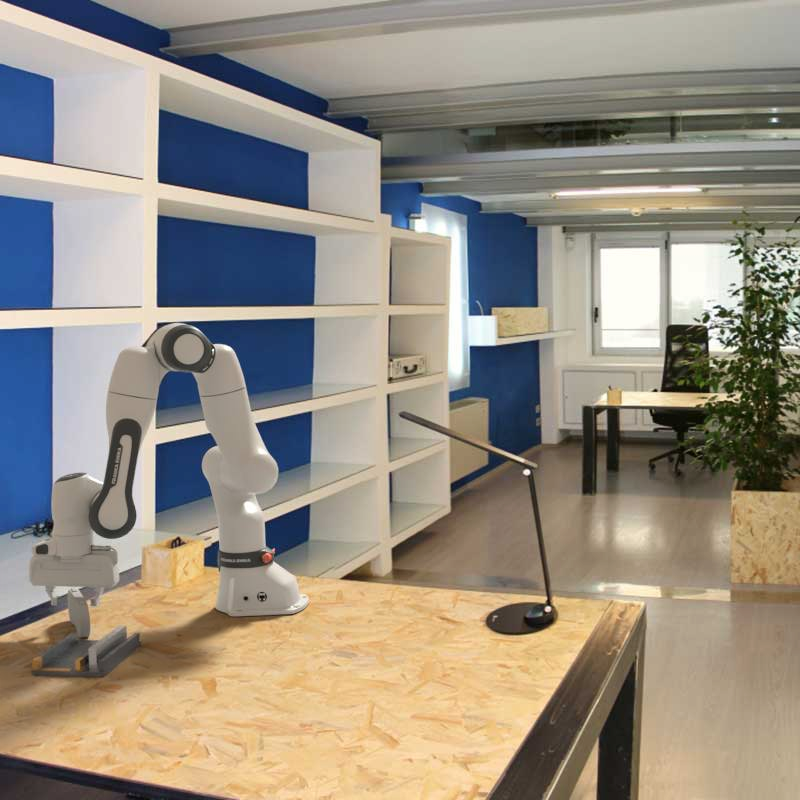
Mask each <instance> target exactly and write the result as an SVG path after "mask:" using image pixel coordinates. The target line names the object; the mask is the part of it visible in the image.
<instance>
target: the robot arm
mask: <svg viewBox="0 0 800 800" xmlns="http://www.w3.org/2000/svg"><path fill="white" fill-rule="evenodd" d="M239 361H240V360H239V359H238V356H237V353H236V352H235V350H234V349H233V348H232V347H231V346H228V345H227V344H222V343H214V344H213V343H212V342H211V341H210V339H209V338H207V336H206V335H205V334H204V333H203V332H202V331H201V330H200V329H199V328H197V327H195V326H194V325H190V324H186V323H181V322H174V323H165V324H163V325H160V326H159V327H157V328H156V329H155V330H153V332H152V333H151V334H150V335H149V336H148V338H147V339H146V340H145V341H144V343H143V344H142V345H141V346H140V345H138V346H137V345H136V346H135V345H134V346H130V347H126V348H124V349H122V350H121V351H120V353H119V354H118V356H117V358H116V361H115V364H114V366H113V369H112V372H111V377H110V380H109V383H108V388H107V395H106V402H105V421H106V423H105V424H106V430H107V435H108V455H107V456H108V457H107V462H106V467H105V472H104V480H103V481H101V480H98V479H96V478H94V477H92V476H90V474H89V473H87V472H75V473H69V474H65V475H63V476H60V477H59V478H58V479H56V480H55V482H54V483H53V485H52V490H51V501H50V504H51V506H50V507H51V517H52V521H53V527H52V536H51V538H47V539H45V540H43V541H40V542H38V543H36V544H34V545H32V547H31V554H32V555H33V556H32V557H30V561H29V569H28V578H29V579H28V580H29V582H30V583H31V585H32V586H35V587H45V592H46V594H47V595H48V597H49V598H50V605H51V606H59V605H60V604H61V595H57V593H56V591H55V589H56V587H71V588H77V587H79V588H94V592H95V595H94V596H93V597H92V598H90V606H91V607H99V606H100V605H101V596H102V595H103V593H104V590H105V588H113V587H114V586H117V584H118V583H119V582H120V571H119V565H118V561H119V552H118V551H117V550H116V549H115V548H114V547H113V546H112V545H99V544H97V545H95V542H94V541H95V540H94V537H95V536H94V533H95V534H96V535H98V536H99V537H101V538H103V539H107V540H117V539H120V538H123V537H125V536H127V535H129V533H130V532H131V531H132V530H133V529H134V527H135V525H136V522H137V510H136V509H137V508H136V506H135V505H136V504H135V501H134V500H135V499H134V497H133V489H134V488H133V487H134V482H135V476H136V471H137V470H136V469H137V463H138V459H139V458H138V457H139V453H140V451H141V448H142V445H143V443H144V440H145V437H146V435H147V433H148V432H149V431H148V430H149V429H150V426H151V423H152V421H153V418H154V414H155V410H156V408H157V407H156V406H157V403H158V402H157V401H158V398H159V397H158V396H159V391H160V390H159V389H160V385H161V383H162V380H163V379H164V377H165V375H167V373H169V372H182V373H191V374H192V375H193V377H194V379H195V381H196V382H197V390H198V394H199V399H200V404H201V408H202V413H203V417H204V422H205V425H206V429H207V430H208V432H209V433H210V434H211V437H213V439H214V441H215V443H216V445H215V446H213V447H211V448H209V449H208V450H207V451H206V452H205V454H204V455H203V457H202V460H201V461H202V462H201V469H202V473H203V475H204V478H205V479H206V480H207V482H208V484H209V487H210V491H211V495H212V499H213V503H214V508H215V511H216V517H217V528H218V544H219V546H218V547H219V548H218V549H217V568H218V572H219V579H218V580H219V583H218V591H217V597H216V601H215V606H214V607H215V610H217V611H219V612H222V613H225V614H227V616H230V617H253V616H255V617H256V616H272V615H275V616H276V615H278V616H279V615H291V614H292V615H293V614H296V613H300V611H303V610H305V608H307V606H308V605H309V603H310V598H309V596H308V595H307V594H304V593H300V588H299V584H298V581H297V580H298V579H297V577H296V576H295V575H294V574H293V573H290V571H288V570H287V569H285V568H283V567H282V566H281V565H279V564H278V563H277V562H275V553H276V552H275V551H276V549H275V548H273V549H271V548H269V547H268V546H267V545H266V526H265V525H266V524H265V514H264V512H263V510H262V508H261V506H260V504H259V502H258V499H257V496H256V495H261V494H264V493H267V492H269V491H270V490H272V489H273V487H274V486H275V484H276V483H277V481H278V478H279V466H278V463H277V461H276V459H274V457H273V456H272V455H271V454H270V451H268V449H267V447H266V445H265V442H264V441H263V439H262V436H261V434H260V432H259V430H258V427H257V425H256V422H255V420H254V417H253V413H252V409H251V408H252V407H251V405H250V404H251V403H250V400H249V394H248V390H247V385H246V380H245V376H244V373H243V370H242V367H241V364H240V362H239Z"/></svg>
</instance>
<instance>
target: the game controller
mask: <svg viewBox="0 0 800 800" xmlns="http://www.w3.org/2000/svg"><path fill="white" fill-rule="evenodd" d="M67 608H68V609H67V610H68V617H69V621H71V622H70V624H71V623H72V624H71V625H74V627H75V629H76V632H78V638H79V639H82V638H83V637H84V638H88V637H90V634H91V617H90V610H89V604H88V602H87V601H86V599H85V597H84V596H83V594H82V593H81V591H80V589H79V588H77V587H71V588H70V589H68V591H67Z"/></svg>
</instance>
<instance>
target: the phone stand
mask: <svg viewBox="0 0 800 800" xmlns="http://www.w3.org/2000/svg"><path fill="white" fill-rule="evenodd" d="M127 628H128V626H127V625H118V626H117V627H115V628H114V629H113V630H111V631H110V632H108V633H107V634H106V635H105V636H104V637H102V638H101V639H98V640H97V639H96V640H95V639H94V640H93V639H85V640H84V639H79V636H78V632H77V631H72V632H71V633H69V634H68V635H66V636H65V637H63V638H61V640H59V641H58V642H57V643H55V644H53V645H52V646H50V647H49V648H48V649H46V650H45V651H43V652H41V653H40V654H39V655H37V656H36V657H34V658H33V659H32V670H31V676H32V675H44V676H43V677H76V676H82V677H83V678H85V677H86V678H104V677H106V676H107V675H108V674H109V673H110V672H112V671H113V670H114V669H115V668H116V667H118V666H119V665H120V664H121V663H122V662H124V661H125V660H126V659H127V658H128V657H130V656H131V655H132V654H133V653H134V652H135V651H136V649H137V648H138V649H139V648H140V647H141V646H142V641H141V637H140V636H141V634H140V632H134V633H132V635H131V636H128V631H127ZM138 649H137V650H138ZM132 652H133V653H132ZM131 653H132V654H131ZM130 654H131V655H130ZM125 658H126V659H125ZM124 659H125V660H124ZM119 663H120V664H119ZM118 664H119V665H118ZM49 675H50V676H49ZM57 675H58V676H57ZM82 677H81V678H82Z"/></svg>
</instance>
